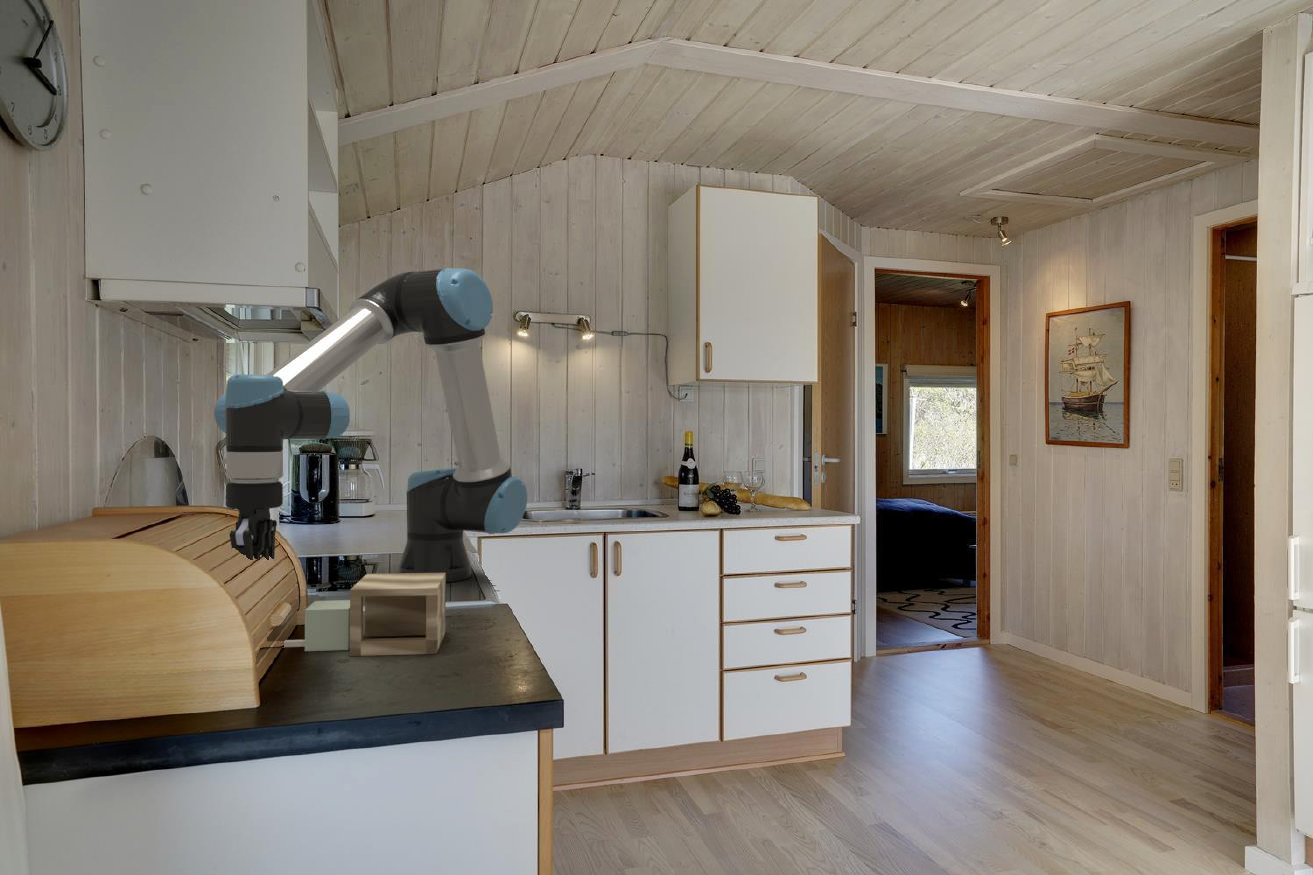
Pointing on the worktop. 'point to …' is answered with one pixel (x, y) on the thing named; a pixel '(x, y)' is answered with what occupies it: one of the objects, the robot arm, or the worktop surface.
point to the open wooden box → (398, 613)
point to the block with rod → (325, 627)
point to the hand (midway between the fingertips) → (254, 639)
